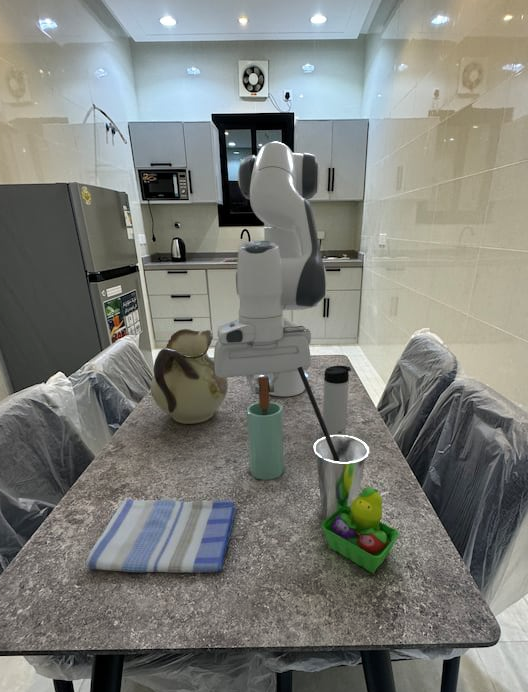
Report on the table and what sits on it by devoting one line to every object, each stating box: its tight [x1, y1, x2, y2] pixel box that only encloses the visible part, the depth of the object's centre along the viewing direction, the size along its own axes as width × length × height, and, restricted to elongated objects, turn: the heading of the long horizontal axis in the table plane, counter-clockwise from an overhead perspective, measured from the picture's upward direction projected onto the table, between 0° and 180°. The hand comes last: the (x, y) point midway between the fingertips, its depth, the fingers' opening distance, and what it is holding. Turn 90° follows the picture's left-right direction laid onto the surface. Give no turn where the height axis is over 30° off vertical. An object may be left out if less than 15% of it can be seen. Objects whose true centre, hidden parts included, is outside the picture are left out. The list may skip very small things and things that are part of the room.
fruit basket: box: [320, 486, 400, 574], centre depth 65 cm, size 11×9×11 cm
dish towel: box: [85, 498, 238, 574], centre depth 70 cm, size 17×24×3 cm
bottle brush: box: [257, 375, 271, 415], centre depth 85 cm, size 4×4×21 cm
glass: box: [297, 367, 370, 521], centre depth 70 cm, size 11×11×30 cm
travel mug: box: [321, 365, 352, 438], centre depth 101 cm, size 6×7×20 cm
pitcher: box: [150, 328, 229, 425], centre depth 113 cm, size 22×24×25 cm
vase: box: [246, 401, 284, 481], centre depth 87 cm, size 8×8×16 cm
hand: (263, 392), depth 83 cm, fingers closed on bottle brush, 2 cm apart
